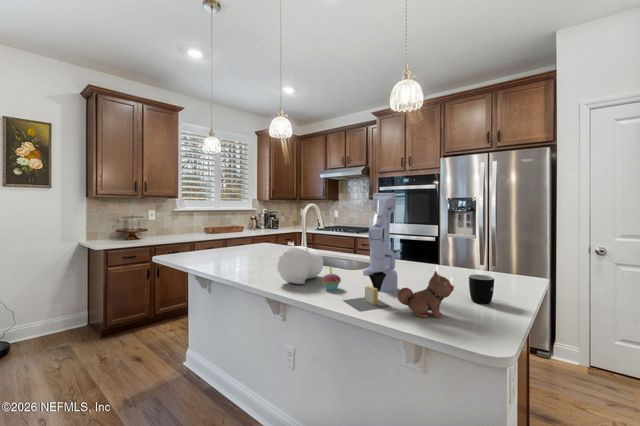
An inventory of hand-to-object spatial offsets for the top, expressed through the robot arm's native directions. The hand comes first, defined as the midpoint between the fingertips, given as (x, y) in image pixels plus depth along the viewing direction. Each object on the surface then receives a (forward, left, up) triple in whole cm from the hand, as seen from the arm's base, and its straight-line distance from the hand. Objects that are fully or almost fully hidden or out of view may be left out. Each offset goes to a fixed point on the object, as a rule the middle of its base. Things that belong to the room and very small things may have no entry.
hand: (377, 291), depth 124 cm
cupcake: (+9, -24, -5) cm, 26 cm away
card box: (+3, 0, -4) cm, 5 cm away
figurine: (-9, +17, -5) cm, 20 cm away
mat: (+5, 0, -5) cm, 7 cm away
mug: (-40, +14, -5) cm, 43 cm away
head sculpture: (+16, -47, -5) cm, 50 cm away
